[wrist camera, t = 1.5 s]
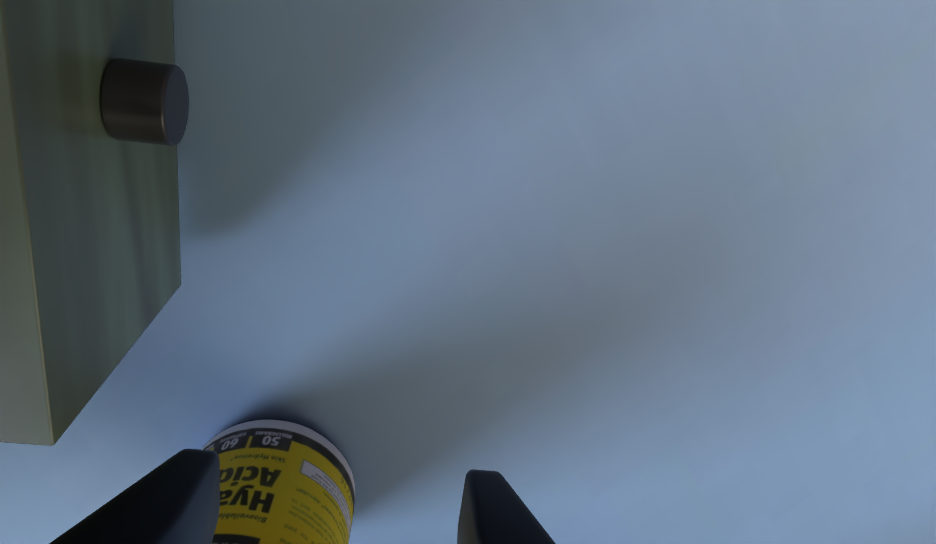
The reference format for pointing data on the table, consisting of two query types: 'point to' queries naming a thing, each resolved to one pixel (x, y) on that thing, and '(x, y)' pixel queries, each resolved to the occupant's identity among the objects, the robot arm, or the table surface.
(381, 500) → the table surface
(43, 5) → the drawer
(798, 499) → the table surface
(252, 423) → the supplement bottle
